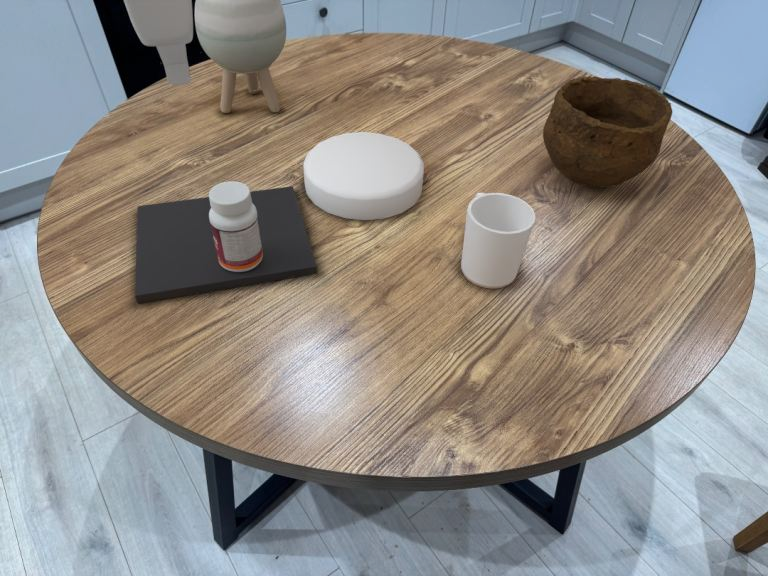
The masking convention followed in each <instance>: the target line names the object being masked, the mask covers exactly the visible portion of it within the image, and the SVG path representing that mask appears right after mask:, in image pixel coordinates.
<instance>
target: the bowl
mask: <svg viewBox="0 0 768 576" xmlns="http://www.w3.org/2000/svg"><path fill="white" fill-rule="evenodd" d="M671 104H672V103H671V102H669V100H668V99H667V97H666V96H665V95H664V94H662V92H659V91H658V90H657V89H655V88H654V87H652V86H648V85H647V84H643V83H641V82H638V81H633V80H629V79H621V78H619V77H614V78H612V77H611V78H607V77H599V76H590V75H589V76H585V75H584V76H578V77H576V78H575V77H574V78H572V79H569V80H568V81H566V82H565V83H564V84H563V85H562V86H560V88H559V89H557V92H556V93H555V95H554V99H553V103H552V104H551V108H550V111H549V113H548V116H547V117H546V120H545V123H544V126H543V128H542V129H543V130H542V139H543V143H544V146H545V149H546V152H547V154H548V156H549V159H550V161H551V163H552V164H553V166H554V167H555V169H556V170H557V171H558V172H559V173H560V174H561V175H562V176H564V177H565V178H566V179H568V180H569V181H570V182H572V183H574V184H577V185H581V186H584V187H588V188H609V187H615V186H620V185H622V184H623V183H627V182H628V181H630V180H632V179H634V178H636V177H637V176H639V175H640V174H642V173H643V172H644V171H646V170H647V169H648V168H649V167H650V166H652V164H654V162H655V161H656V159H657V157H658V156H659V155H660V153H661V147H662V144H663V140H664V136H665V134H666V131H667V129H668V125H669V123H670V122H671V119H672V116H673V108H672V105H671Z"/></svg>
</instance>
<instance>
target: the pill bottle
mask: <svg viewBox="0 0 768 576" xmlns="http://www.w3.org/2000/svg"><path fill="white" fill-rule="evenodd" d="M250 192H251V190H250V187H249V186H248V185H247V184H245V183H243V182H240V181H234V180H233V181H232V180H231V181H230V180H229V181H223V182H220V183H217V184H215V185H214V186H212V187H211V189H209V192H208V197H209V199H210V205H211V209H210V212H209V220H210V224H211V228H212V233H213V238H214V242H215V247H216V252H217V256H218V260H219V263H220V265H221V266H222V267H223V268H225V269H226V270H229V271H232V272H245V271H249V270H251V269H253V268H255V267H256V266H257V265H258V264H259V263H260V262H261V260H262V257H263V251H262V244H261V238H260V231H259V224H258V216H257V210H256V207H255V205H254V204H253V203H252V199H251V193H250Z"/></svg>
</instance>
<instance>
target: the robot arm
mask: <svg viewBox="0 0 768 576" xmlns="http://www.w3.org/2000/svg"><path fill="white" fill-rule="evenodd" d="M123 3H124V5H125V8H126V11H127V14H128V17H129V20H130V23H131V24H132V27H133V29H134V31H135V33H136V35H137V37H138V38H139V40H140V42H141V43H142V45H144V46H146V47H155V48H156V50H157V52H158V55H159V57H160V59H161V61H162V64H163V68H164V71H165V76H166V79H167V82H168V83H169V85H171V86H184V85H188V84H190V83H191V81H192V76H191V71H190V66H189V61H188V56H187V55H188V54H187V46H186V44H190V43H191V42H192V41H193V38H194V17H193V16H194V15H193V2H192V0H123Z"/></svg>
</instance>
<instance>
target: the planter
mask: <svg viewBox="0 0 768 576" xmlns="http://www.w3.org/2000/svg"><path fill="white" fill-rule="evenodd" d="M194 25H195V32H196V35H197V39H198V42H199V44H200V46H201V48H202V50H203V51H204V53H205V54H206V56H207V57H209V59H211V60H212V61H213V62H214V63H215V64H217V66H219V67H220V69H222V77H221V78H222V79H221V80H222V81H221V93H220V94H221V95H220V112H221V113H223V114H229V113H231V111H232V108H233V102H234V94H235V89H236V82H237V75H238V74H240V75H244V78H245V82H246V87H247V90H248V89H249V90H248V93H250V94H253V95H255V94H257V93H259V85H260V88H261V90H262V92H263V95H264V98H265V101H266V103H267V106H268V109H269V111H270V112H271V113H275V114H276V113H279V112H280V111H281V105H280V101H279V97H278V95H277V91H276V89H275V85H274V82H273V77H272V74H271V70H270V67H271V66H272V65H273V64H274V62H276V61H277V59H278V58H279V56H280V55H281V53H282V52H283V50H284V47H285V44H286V41H287V21H286V16H285V11H284V7H283V4H282V2H281V0H195V2H194ZM257 89H258V90H257ZM250 90H251V91H250ZM253 90H256V91H253Z"/></svg>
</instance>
